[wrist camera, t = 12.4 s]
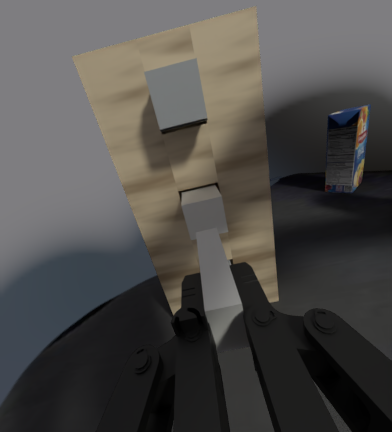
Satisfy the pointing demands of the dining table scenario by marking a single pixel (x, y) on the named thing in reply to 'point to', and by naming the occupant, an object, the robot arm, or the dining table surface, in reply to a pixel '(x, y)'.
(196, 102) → the top banded button
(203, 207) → the pale grey cube
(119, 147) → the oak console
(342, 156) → the juice carton
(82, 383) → the dining table surface
